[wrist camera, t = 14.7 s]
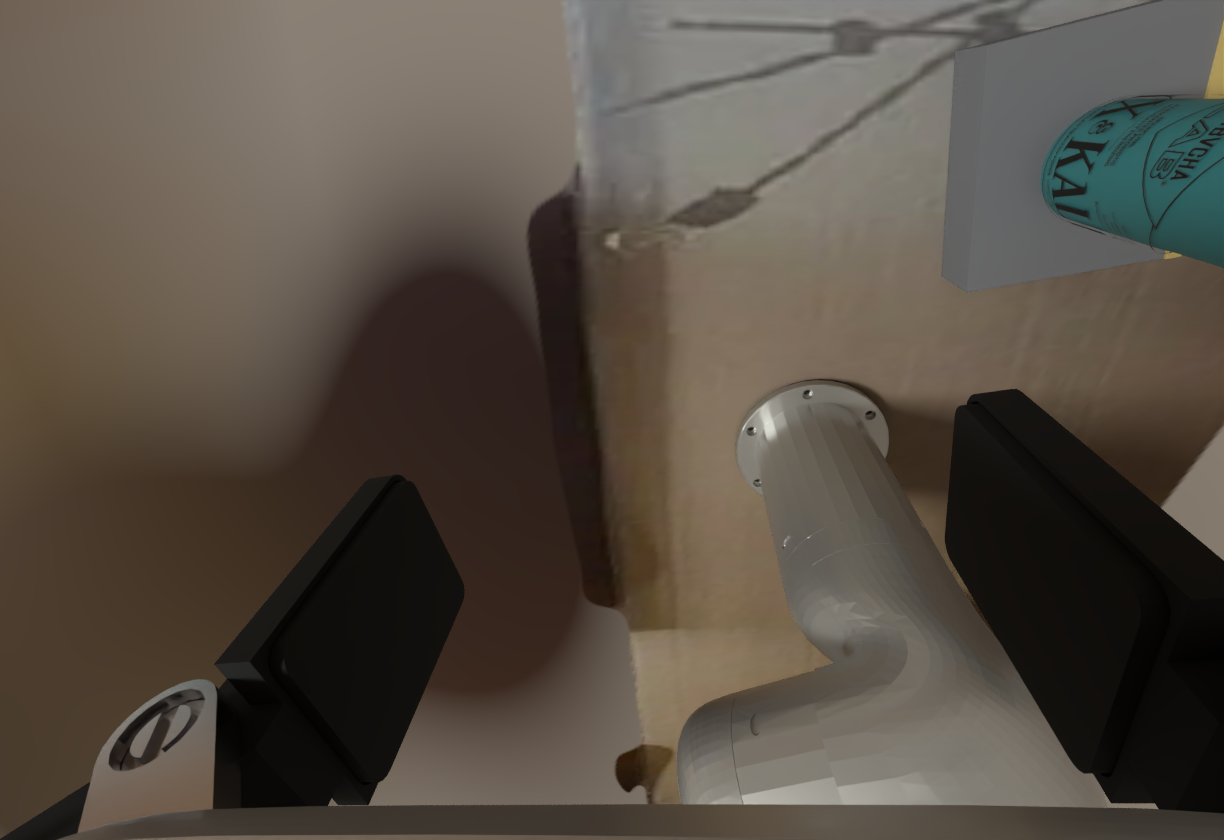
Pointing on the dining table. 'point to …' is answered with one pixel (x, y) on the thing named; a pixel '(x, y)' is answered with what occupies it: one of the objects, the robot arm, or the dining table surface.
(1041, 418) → the robot arm
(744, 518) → the dining table surface
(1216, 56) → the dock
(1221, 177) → the beverage bottle
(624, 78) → the dining table surface
